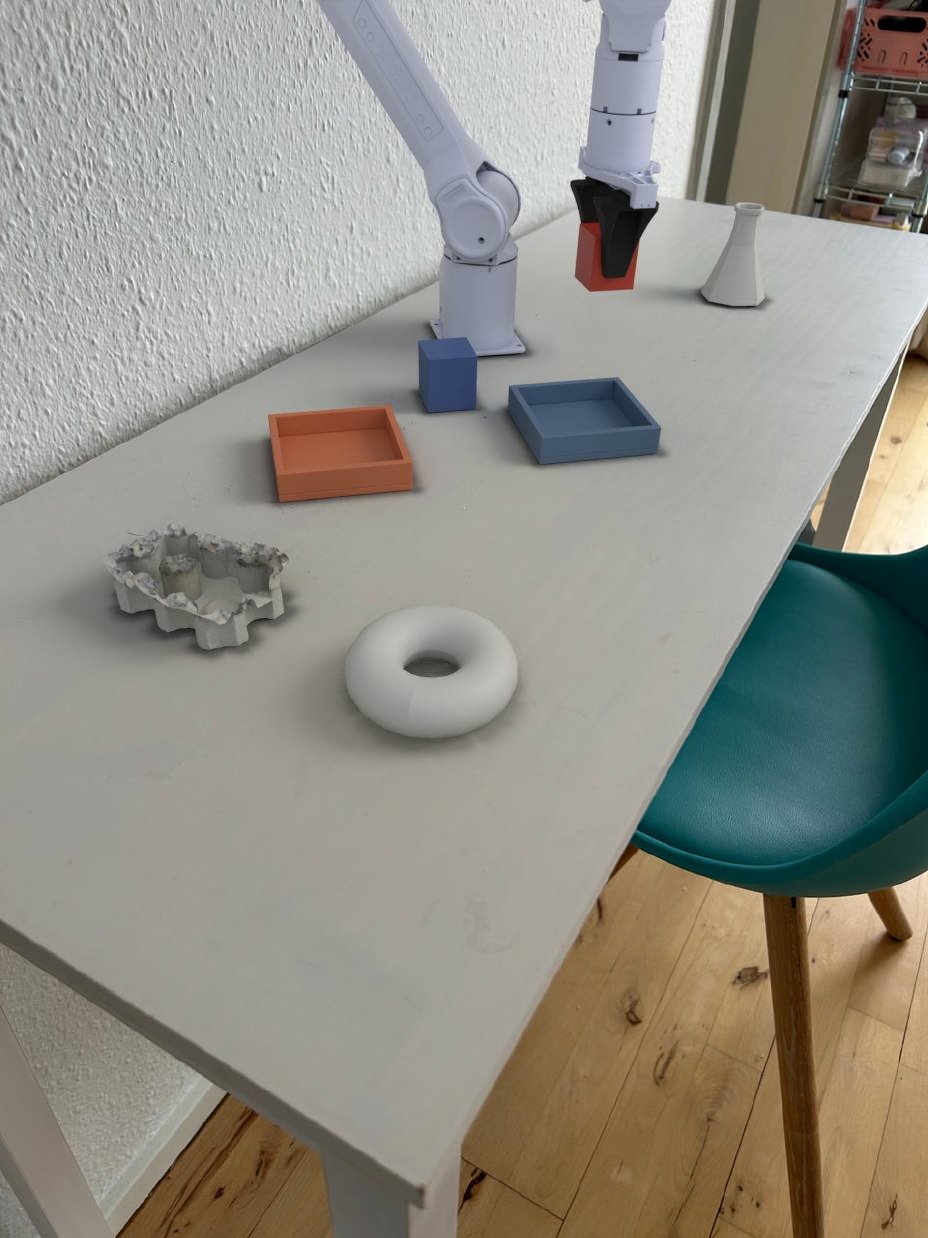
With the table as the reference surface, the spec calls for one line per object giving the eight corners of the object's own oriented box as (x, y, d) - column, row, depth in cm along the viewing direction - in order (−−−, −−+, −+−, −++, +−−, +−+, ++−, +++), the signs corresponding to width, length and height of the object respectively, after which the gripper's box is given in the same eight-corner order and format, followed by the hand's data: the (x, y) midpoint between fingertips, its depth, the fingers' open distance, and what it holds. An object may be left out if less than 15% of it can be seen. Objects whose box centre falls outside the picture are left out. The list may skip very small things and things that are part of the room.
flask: (765, 311, 106) (786, 217, 100) (699, 305, 107) (716, 211, 101) (762, 289, 112) (782, 199, 106) (700, 284, 113) (715, 194, 107)
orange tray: (270, 440, 80) (267, 414, 78) (391, 430, 81) (390, 404, 80) (279, 502, 72) (276, 474, 70) (412, 489, 74) (412, 462, 72)
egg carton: (302, 606, 62) (297, 554, 59) (216, 667, 57) (206, 613, 54) (189, 550, 66) (179, 499, 64) (100, 602, 61) (86, 549, 59)
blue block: (418, 392, 88) (418, 339, 85) (465, 388, 88) (466, 336, 85) (427, 413, 84) (427, 359, 81) (476, 409, 85) (477, 355, 82)
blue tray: (507, 410, 85) (508, 385, 84) (615, 401, 87) (618, 376, 85) (539, 464, 77) (541, 437, 76) (657, 453, 79) (661, 427, 78)
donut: (505, 635, 60) (345, 638, 59) (509, 590, 58) (343, 593, 57) (527, 749, 52) (343, 755, 51) (532, 703, 50) (340, 708, 49)
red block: (574, 276, 93) (579, 223, 90) (616, 274, 94) (623, 221, 91) (589, 291, 90) (595, 236, 86) (633, 289, 90) (640, 234, 87)
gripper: (701, 124, 78) (674, 291, 86) (635, 93, 89) (617, 243, 97) (620, 126, 76) (600, 296, 85) (563, 94, 87) (551, 246, 96)
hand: (604, 268), depth 91 cm, fingers closed on red block, 4 cm apart
